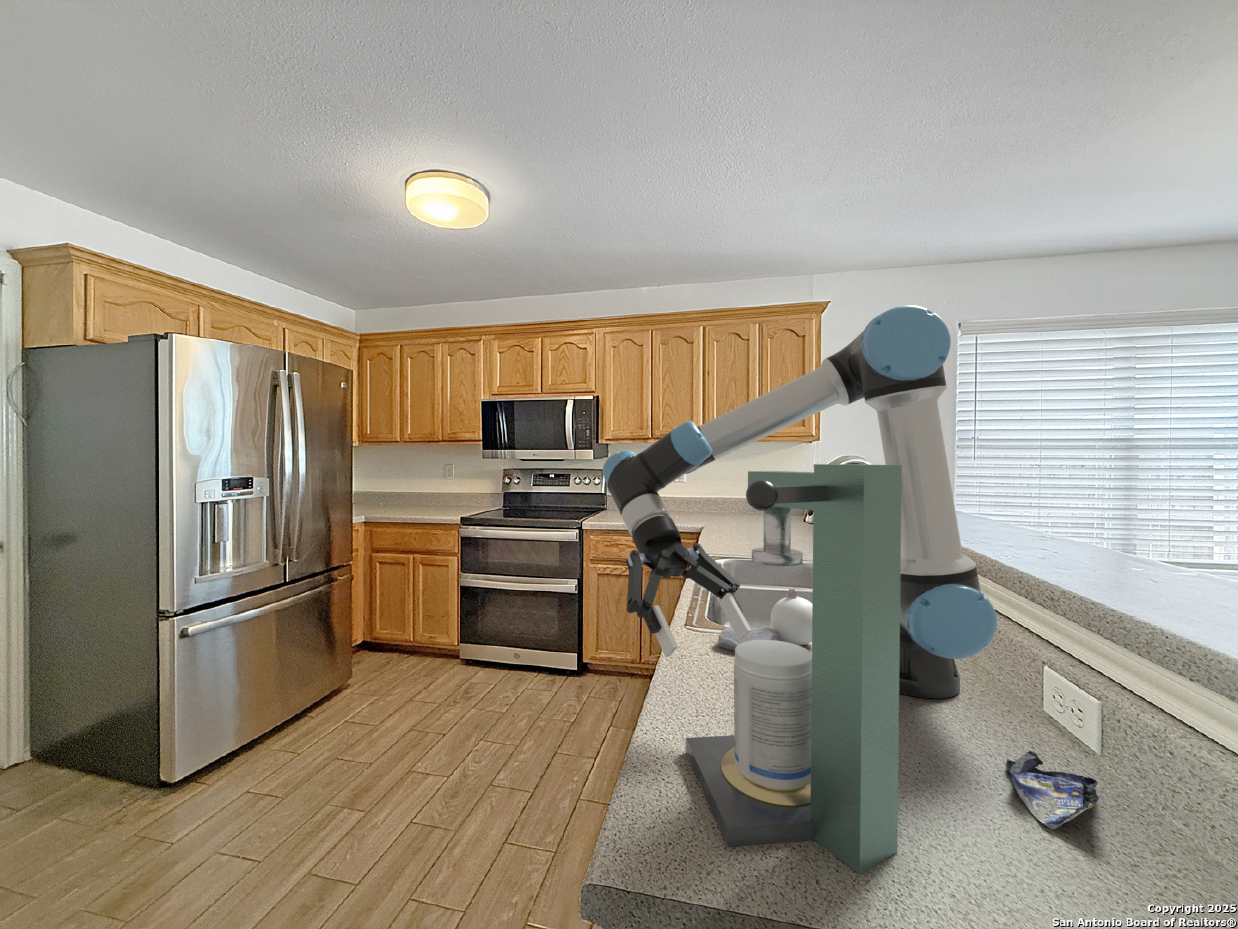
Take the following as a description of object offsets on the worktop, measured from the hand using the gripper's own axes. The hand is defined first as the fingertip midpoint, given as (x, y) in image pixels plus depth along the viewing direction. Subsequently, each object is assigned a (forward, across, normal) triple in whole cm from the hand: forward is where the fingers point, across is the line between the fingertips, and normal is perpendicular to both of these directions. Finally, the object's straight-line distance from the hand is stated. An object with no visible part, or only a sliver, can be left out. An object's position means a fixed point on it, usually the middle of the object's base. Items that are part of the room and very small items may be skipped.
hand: (710, 643), depth 77 cm
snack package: (+32, -26, +11) cm, 43 cm away
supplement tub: (+17, +1, 0) cm, 17 cm away
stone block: (-8, -31, -28) cm, 43 cm away
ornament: (-5, -42, -26) cm, 50 cm away
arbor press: (+21, +2, +1) cm, 21 cm away
